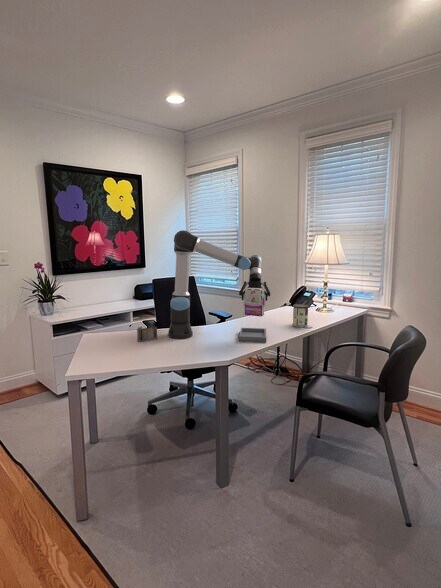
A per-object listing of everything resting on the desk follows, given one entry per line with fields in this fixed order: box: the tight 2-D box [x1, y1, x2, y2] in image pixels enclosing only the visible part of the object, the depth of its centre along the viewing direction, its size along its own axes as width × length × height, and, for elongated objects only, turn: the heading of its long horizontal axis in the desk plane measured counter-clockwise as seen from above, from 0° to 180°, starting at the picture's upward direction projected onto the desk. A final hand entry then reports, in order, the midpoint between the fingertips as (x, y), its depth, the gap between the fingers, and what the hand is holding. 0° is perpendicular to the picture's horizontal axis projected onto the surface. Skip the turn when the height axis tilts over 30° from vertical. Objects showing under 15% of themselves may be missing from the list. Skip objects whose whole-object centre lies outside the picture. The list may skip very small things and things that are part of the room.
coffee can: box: [292, 303, 309, 328], centre depth 246 cm, size 10×10×14 cm
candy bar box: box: [244, 287, 265, 317], centre depth 212 cm, size 11×5×16 cm, turn 67°
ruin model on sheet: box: [136, 326, 158, 343], centre depth 208 cm, size 11×3×10 cm, turn 119°
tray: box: [238, 327, 267, 343], centre depth 217 cm, size 16×20×3 cm
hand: (254, 304), depth 211 cm, fingers closed on candy bar box, 12 cm apart
